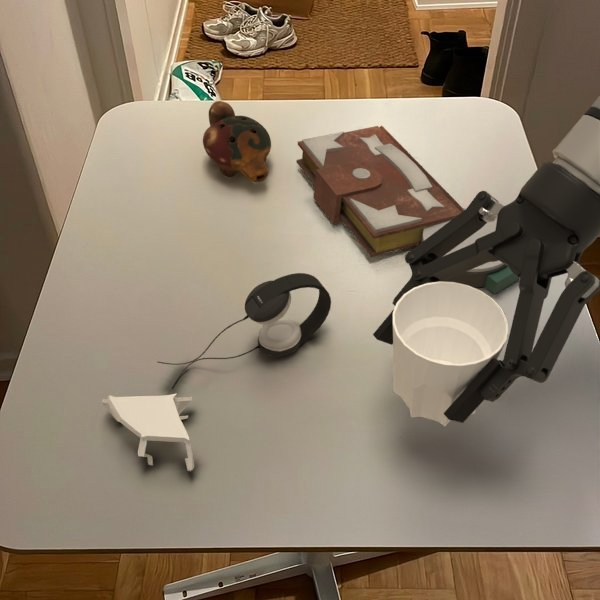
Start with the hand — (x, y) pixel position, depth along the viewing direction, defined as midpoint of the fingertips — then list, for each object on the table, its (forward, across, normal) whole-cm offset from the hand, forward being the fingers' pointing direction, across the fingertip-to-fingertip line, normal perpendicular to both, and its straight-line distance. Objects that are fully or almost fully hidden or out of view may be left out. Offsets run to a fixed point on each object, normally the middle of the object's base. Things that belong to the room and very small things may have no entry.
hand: (416, 377), depth 68 cm
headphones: (+14, +18, -2) cm, 23 cm away
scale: (-9, +19, -24) cm, 32 cm away
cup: (+1, 0, -5) cm, 5 cm away
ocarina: (+2, +52, -13) cm, 53 cm away
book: (-7, +35, -22) cm, 42 cm away
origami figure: (+23, +14, +8) cm, 28 cm away
